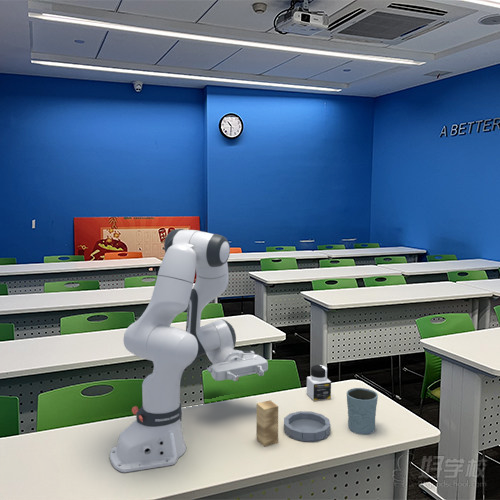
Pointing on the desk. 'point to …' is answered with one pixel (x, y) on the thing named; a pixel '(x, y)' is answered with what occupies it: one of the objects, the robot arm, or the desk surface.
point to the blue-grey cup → (361, 410)
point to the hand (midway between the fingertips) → (249, 376)
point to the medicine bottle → (318, 384)
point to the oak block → (267, 423)
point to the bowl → (307, 426)
